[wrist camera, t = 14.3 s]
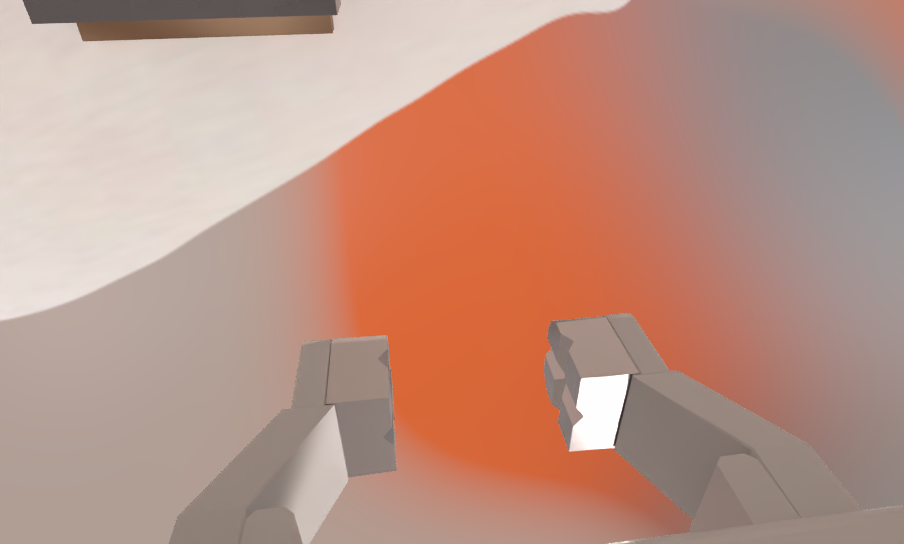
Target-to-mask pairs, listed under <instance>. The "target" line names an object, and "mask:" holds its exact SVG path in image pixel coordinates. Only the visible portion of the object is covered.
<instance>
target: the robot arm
mask: <svg viewBox="0 0 904 544" xmlns="http://www.w3.org/2000/svg"><path fill="white" fill-rule="evenodd" d="M547 338H548V340H549V343H550V346H551V348H552V349H551V350H550V351H549V352H548V353H547V354H546V356H545V366H544V373H545V384H546V388H547V392H548V395H549V398H550V401H551V404H552V405H554V406H555V407H557V408H558V409H559V410H560V414H559V420H558V423H559V426H560V428H561V431H562V434H563V436H564V439H565V442H566V444H567V447H568V450H569V451H578V450H591V449H603V448H615V449H614V450H615V451H616V452H617V453H618V454H620V455H621V456H622V457H623V458H624V459H625V460H626V461H627V462H629V463H630V464H631V465H632V466H633V467H634V468H636V470H638V471H639V472H640V473H641V474H642V475H643V476H644V477H645V478H647V479H648V480H649V481H650V482H651V483H652V484H653V485H654V486H656V487H657V488H658V489H659V490H660V491H661V492H662V493H663V494H665V495H666V496H667V497H668V498H669V499H671V501H672V502H673V503H675V504H676V505H677V506H678V507H679V508H680V509H681V510H682V511H684V512H685V513H686V514H687V515H688V516H689V517H690V518H691V519H693V522H692V525H691V527H690V530H689V532H688V533H684V534H676V535H669V536H661V537H653V538H646V539H638V540H630V541H623V542H615V543H608V544H904V505H899V506H892V507H883V508H876V509H868V510H862V508H861V507H860V506H859V505H858V503H857V502H856V501H855V500H854V499H853V497H852V496H851V495H850V494H849V493H848V491H847V490H846V489H845V488H844V486H843V485H842V484H841V483H840V482H839V480H838V479H837V478H836V477H835V476H834V474H833V473H832V472H831V471H830V469H829V468H828V467H827V466H826V464H825V463H824V462H823V461H822V460H821V458H820V457H819V456H818V455H817V454H816V453H815V451H814V450H813V449H812V447H811V446H810V445H809V444H807V443H806V442H804V441H802V440H800V439H798V438H797V437H795V436H793V435H791V434H790V433H787V432H786V431H784V430H782V429H781V428H779V427H777V426H775V425H774V424H772V423H770V422H768V421H766V420H765V419H763V418H761V417H759V416H757V415H756V414H754V413H752V412H750V411H749V410H747V409H745V408H743V407H741V406H740V405H738V404H736V403H734V402H733V401H731V400H729V399H727V398H725V397H724V396H722V395H720V394H718V393H717V392H715V391H713V390H711V389H709V388H708V387H706V386H704V385H702V384H700V383H699V382H697V381H695V380H693V379H692V378H690V377H688V376H686V375H685V374H683V373H681V372H679V371H669V369H668V368H667V366H666V365H665V363H664V362H663V360H662V359H661V357H660V356H659V354H658V353H657V351H656V350H655V348H654V347H653V345H652V344H651V342H650V341H649V339H648V338H647V336H646V335H645V333H644V332H643V330H642V329H641V327H640V325H639V324H638V322H637V321H636V320H635V318H634V316H632V315H631V314H629V313H624V314H616V315H606V316H602V317H591V318H581V319H571V320H570V319H569V320H559V321H551V323H550V326H549V329H548V337H547ZM389 471H396V446H395V432H394V405H393V389H392V377H391V370H390V360H389V347H388V339H387V335H386V336H371V337H356V338H339V339H333V340H316V341H304V343H303V345H302V347H301V352H300V358H299V363H298V369H297V376H296V381H295V388H294V394H293V400H292V406H291V409H285V410H282V411H281V412H280V413H279V414H278V415H277V416H276V417H275V418H274V419H273V420H272V421H271V422H270V423H269V424H268V425H267V426H266V427H265V428H264V429H263V430H262V431H261V432H260V433H259V434H258V435H257V436H256V437H255V438H254V439H253V440H252V441H251V442H250V443H249V444H248V445H247V446H246V447H245V448H244V449H243V450H242V451H241V452H240V454H238V456H237V457H236V458H235V459H234V460H233V461H232V462H231V463H230V464H229V465H228V466H227V467H226V468H225V469H224V470H223V471H222V472H221V473H220V474H219V475H218V476H217V477H216V478H215V479H214V480H213V481H212V482H211V483H210V484H209V485H208V486H207V487H206V488H205V489H204V490H203V491H202V492H201V493H200V494H199V495H198V496H197V497H196V498H195V499H194V500H193V501H192V502H191V503H190V505H189V506H187V507H186V508H185V510H184V511H183V512H182V513H181V514H180V515H179V516H178V517H177V520H176V523H175V526H174V530H173V533H172V536H171V539H170V542H169V544H309V543H310V542H311V540H312V538H313V537H314V535H315V534H316V532H317V530H318V529H319V527H320V525H321V524H322V522H323V521H324V519H325V517H326V516H327V514H328V512H329V511H330V509H331V508H332V506H333V504H334V503H335V501H336V500H337V498H338V496H339V495H340V493H341V491H342V490H343V488H344V487H345V485H346V483H347V482H348V477H353V476H361V475H369V474H375V473H383V472H389Z"/></svg>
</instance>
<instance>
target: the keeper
mask: <svg viewBox="0 0 904 544" xmlns="http://www.w3.org/2000/svg"><path fill="white" fill-rule="evenodd" d="M77 26H78V29H79V32H80V34H81V37H82V40H83V41H106V40H137V39H168V38H199V37H230V36H261V35H292V34H323V33H333V30H334V26H333V18H332V15H320V16H286V17H251V18H216V19H182V20H147V21H112V22H78V23H77Z"/></svg>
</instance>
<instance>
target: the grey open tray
mask: <svg viewBox="0 0 904 544" xmlns="http://www.w3.org/2000/svg"><path fill="white" fill-rule="evenodd" d="M23 2H24V5H25V7H26V10H27V12H28V15H29V17H30V19H31V22H32V24H43V23H78V22H112V21H147V20H182V19H216V18H251V17H286V16H320V15H337V14H338V11H339V8H340V5H341V2H340V0H23Z"/></svg>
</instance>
